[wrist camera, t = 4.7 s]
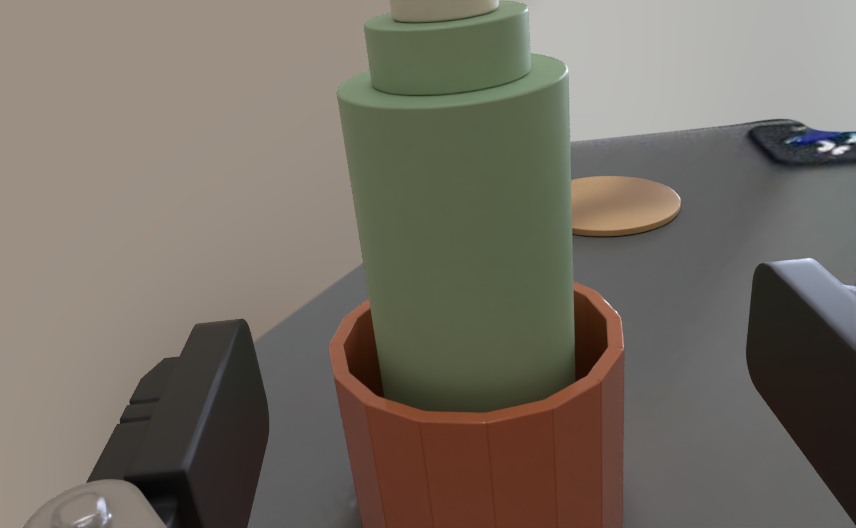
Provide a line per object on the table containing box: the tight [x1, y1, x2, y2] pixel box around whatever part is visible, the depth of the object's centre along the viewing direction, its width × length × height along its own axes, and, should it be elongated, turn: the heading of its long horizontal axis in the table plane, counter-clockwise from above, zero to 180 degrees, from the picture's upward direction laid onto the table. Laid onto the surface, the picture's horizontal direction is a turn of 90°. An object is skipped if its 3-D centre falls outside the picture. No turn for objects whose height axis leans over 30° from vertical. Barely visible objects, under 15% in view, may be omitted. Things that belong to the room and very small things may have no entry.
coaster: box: [571, 176, 681, 236], centre depth 47 cm, size 9×9×1 cm
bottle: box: [337, 0, 576, 413], centre depth 21 cm, size 6×6×20 cm
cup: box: [329, 281, 624, 528], centre depth 24 cm, size 8×8×7 cm
